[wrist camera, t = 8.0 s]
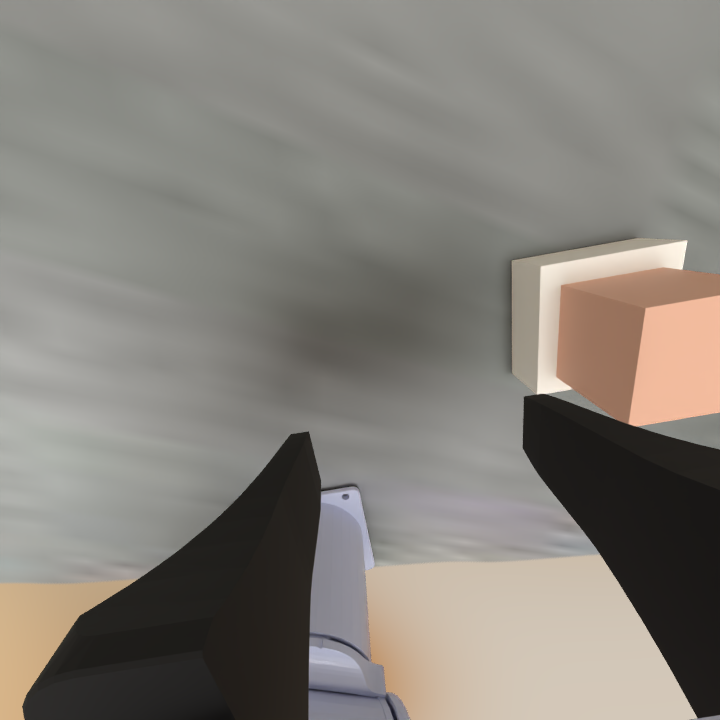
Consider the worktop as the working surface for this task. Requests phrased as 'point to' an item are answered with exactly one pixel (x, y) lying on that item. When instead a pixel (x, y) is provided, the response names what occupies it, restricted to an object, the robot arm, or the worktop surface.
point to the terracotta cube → (643, 344)
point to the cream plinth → (543, 290)
